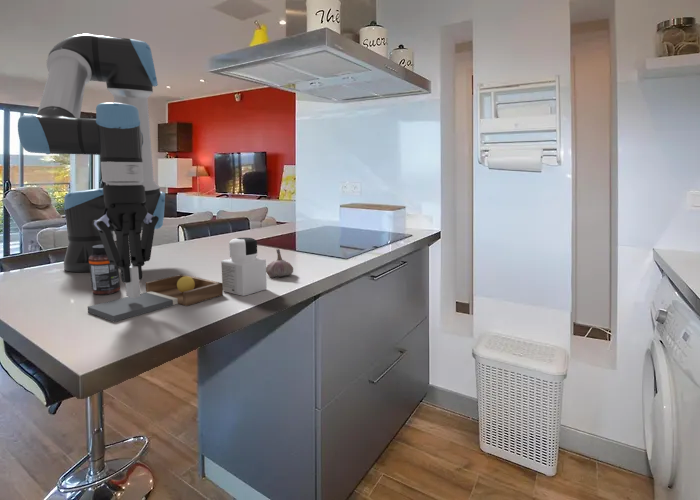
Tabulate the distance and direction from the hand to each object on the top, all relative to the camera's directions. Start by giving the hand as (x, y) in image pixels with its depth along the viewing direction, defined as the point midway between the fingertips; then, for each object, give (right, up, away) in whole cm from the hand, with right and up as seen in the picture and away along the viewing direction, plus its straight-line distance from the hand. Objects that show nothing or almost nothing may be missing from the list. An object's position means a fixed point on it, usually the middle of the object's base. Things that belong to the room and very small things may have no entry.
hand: (133, 296), depth 90 cm
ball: (+7, +2, +10) cm, 13 cm away
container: (+20, 0, +15) cm, 25 cm away
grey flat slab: (0, -3, 0) cm, 3 cm away
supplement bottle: (-13, 0, +12) cm, 17 cm away
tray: (+7, -1, +10) cm, 12 cm away
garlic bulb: (+26, +2, +30) cm, 40 cm away
